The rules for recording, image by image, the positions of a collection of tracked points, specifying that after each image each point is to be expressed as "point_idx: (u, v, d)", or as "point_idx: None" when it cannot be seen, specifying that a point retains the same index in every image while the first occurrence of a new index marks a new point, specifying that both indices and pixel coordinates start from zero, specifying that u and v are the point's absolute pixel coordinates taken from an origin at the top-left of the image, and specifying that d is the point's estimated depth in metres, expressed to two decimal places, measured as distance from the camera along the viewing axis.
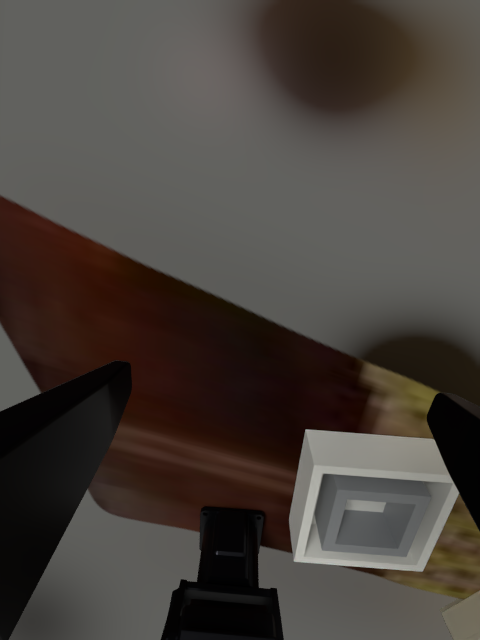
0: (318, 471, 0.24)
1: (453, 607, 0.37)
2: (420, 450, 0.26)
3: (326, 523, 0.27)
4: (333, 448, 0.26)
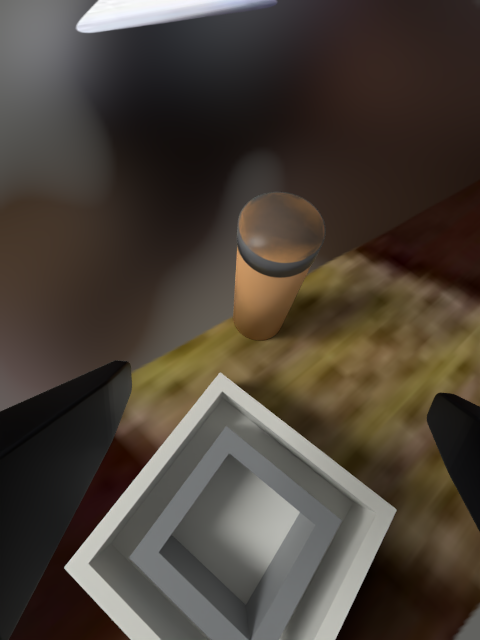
0: (80, 568, 0.15)
1: None
2: None
3: (202, 626, 0.14)
4: None
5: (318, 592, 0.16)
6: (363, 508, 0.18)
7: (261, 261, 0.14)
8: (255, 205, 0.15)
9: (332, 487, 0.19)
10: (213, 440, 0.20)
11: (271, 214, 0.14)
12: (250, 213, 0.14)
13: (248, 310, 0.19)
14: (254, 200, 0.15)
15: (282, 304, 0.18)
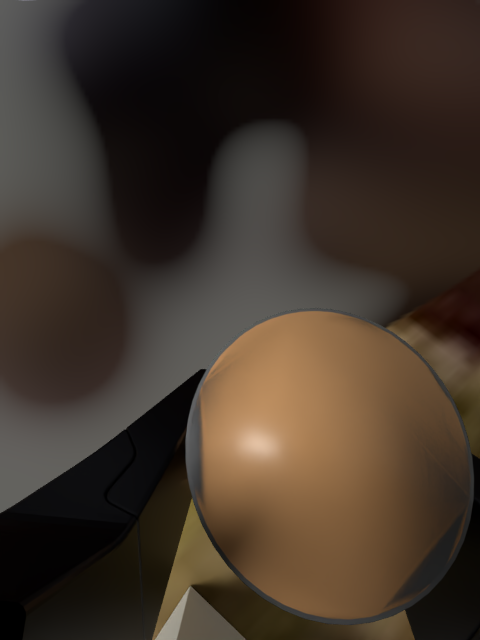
0: None
1: None
2: None
3: None
4: None
5: None
6: None
7: None
8: (245, 359, 0.05)
9: None
10: None
11: (295, 392, 0.05)
12: (229, 391, 0.05)
13: None
14: (242, 340, 0.05)
15: None
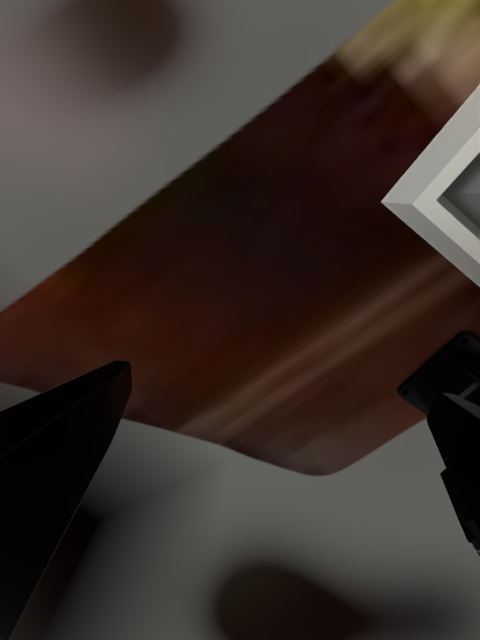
0: (428, 204, 0.15)
1: None
2: None
3: None
4: (423, 170, 0.16)
5: None
6: None
7: None
8: None
9: None
10: None
11: None
12: None
13: None
14: None
15: None
